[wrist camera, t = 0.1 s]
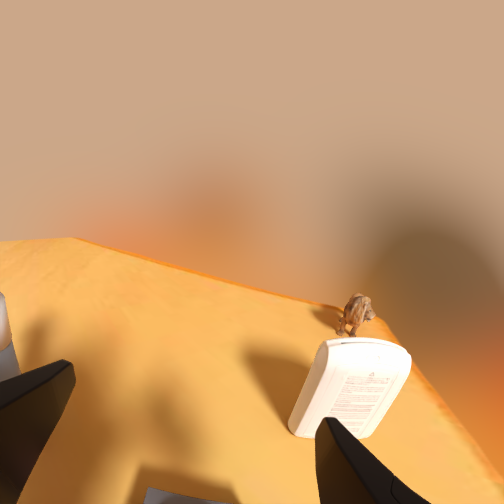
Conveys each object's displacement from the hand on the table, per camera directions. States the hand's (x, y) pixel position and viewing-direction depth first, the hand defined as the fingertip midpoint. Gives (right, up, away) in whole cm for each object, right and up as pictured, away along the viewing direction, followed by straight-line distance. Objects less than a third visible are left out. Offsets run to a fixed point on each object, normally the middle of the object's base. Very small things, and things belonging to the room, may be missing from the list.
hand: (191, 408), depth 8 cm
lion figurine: (+21, -10, +45) cm, 50 cm away
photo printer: (+11, -15, +19) cm, 26 cm away
